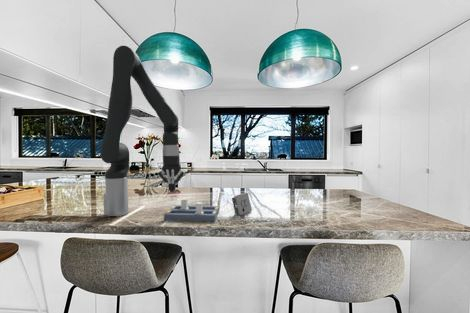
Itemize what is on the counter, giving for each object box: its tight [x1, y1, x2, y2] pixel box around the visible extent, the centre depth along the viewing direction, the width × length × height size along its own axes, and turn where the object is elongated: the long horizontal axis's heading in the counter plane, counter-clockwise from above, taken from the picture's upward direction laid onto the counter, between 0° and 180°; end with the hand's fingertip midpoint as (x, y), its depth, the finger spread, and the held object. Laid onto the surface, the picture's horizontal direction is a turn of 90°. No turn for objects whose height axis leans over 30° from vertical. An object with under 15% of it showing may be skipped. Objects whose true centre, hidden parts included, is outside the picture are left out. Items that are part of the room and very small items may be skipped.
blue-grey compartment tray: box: [163, 204, 220, 222], centre depth 105 cm, size 22×14×3 cm, turn 86°
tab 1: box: [180, 197, 189, 209], centre depth 108 cm, size 3×3×6 cm
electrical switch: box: [231, 192, 253, 216], centre depth 109 cm, size 9×5×9 cm, turn 141°
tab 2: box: [195, 201, 204, 214], centre depth 101 cm, size 3×3×6 cm
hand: (172, 191), depth 108 cm, fingers closed
